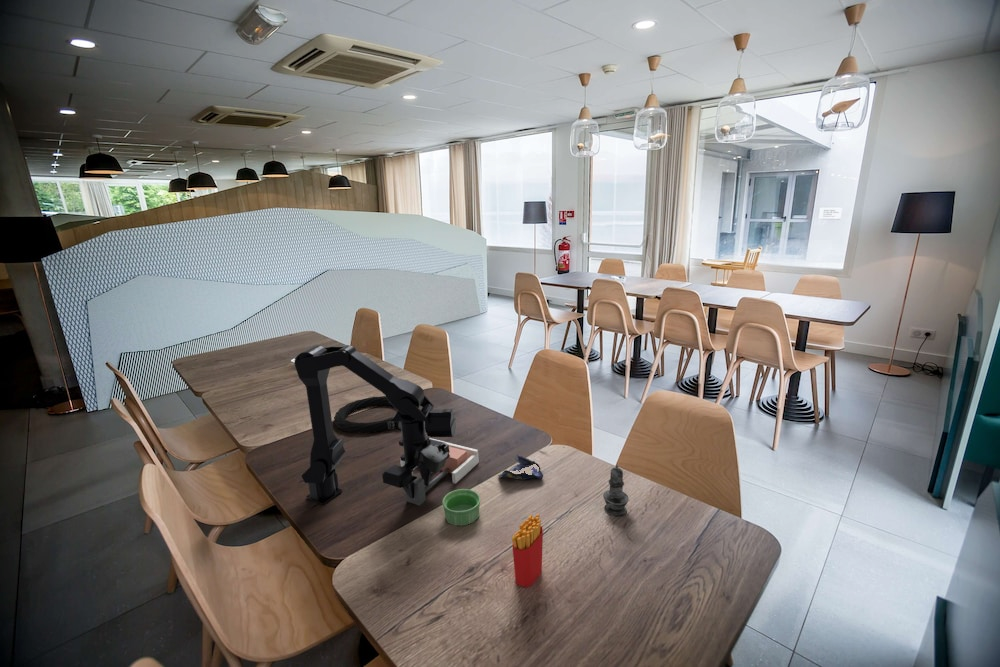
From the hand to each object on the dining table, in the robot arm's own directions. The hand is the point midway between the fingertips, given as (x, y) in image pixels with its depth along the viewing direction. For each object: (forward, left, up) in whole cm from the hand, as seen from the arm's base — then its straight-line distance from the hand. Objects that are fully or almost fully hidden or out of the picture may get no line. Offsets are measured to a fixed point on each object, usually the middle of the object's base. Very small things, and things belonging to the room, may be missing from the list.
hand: (419, 491), depth 114 cm
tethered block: (+8, 0, -2) cm, 8 cm away
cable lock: (+32, +45, -2) cm, 55 cm away
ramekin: (-1, -14, -2) cm, 14 cm away
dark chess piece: (+17, -46, -2) cm, 49 cm away
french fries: (-11, -36, -2) cm, 38 cm away
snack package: (+21, -19, -2) cm, 28 cm away
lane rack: (+15, +5, -2) cm, 16 cm away
